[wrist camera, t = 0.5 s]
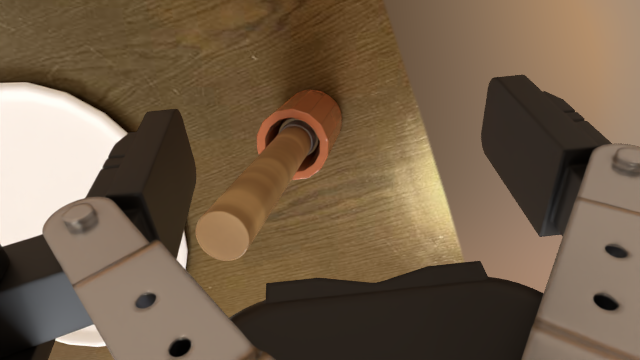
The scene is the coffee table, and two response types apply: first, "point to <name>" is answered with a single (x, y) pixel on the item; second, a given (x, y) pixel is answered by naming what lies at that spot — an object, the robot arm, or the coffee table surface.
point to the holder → (315, 113)
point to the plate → (51, 164)
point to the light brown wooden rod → (255, 193)
